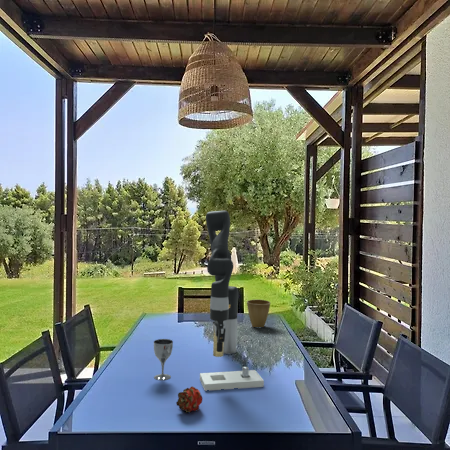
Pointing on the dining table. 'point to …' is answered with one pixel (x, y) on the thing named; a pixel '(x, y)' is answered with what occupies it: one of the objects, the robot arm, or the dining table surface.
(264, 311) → the plant pot
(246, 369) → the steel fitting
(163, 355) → the wine glass
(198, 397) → the dragon fruit
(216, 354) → the cylinder
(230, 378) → the plate
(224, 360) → the dining table surface
